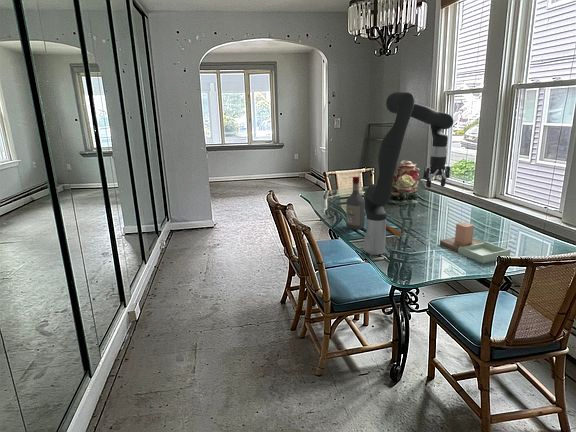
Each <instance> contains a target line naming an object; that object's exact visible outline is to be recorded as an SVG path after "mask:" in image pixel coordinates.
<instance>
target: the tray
mask: <svg viewBox="0 0 576 432" xmlns="http://www.w3.org/2000/svg"><path fill="white" fill-rule="evenodd" d="M457 254H459V255H462V256H464V257H467V258H469V259H471V260H473V261H476V262H477V263H480V264H482V265H484V264H488V263H493V262H497V261H496V258H497V256H510V257H511V249H507V248H505V247H502V246H499V245H497V244H494V243H491V242H489V241H487V240H486V241H485V240H484V242H483V243H480V244H475V245H470V246H465V247H461V246H459V248H458V253H457Z"/></svg>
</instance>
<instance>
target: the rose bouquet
mask: <svg viewBox="0 0 576 432" xmlns="http://www.w3.org/2000/svg"><path fill="white" fill-rule="evenodd" d="M417 164H418V163H415V164H414V162H412V161H410V160H406V159H404V160H402V161H400V164H399V165H398V166H397V167H396V170H397V172H398V173H396V172H395V173H394V177H393V183H392V190H391V196H390V199H389V201H388V203H393V204H395V205H396V206H403V205H404V206H405V205H410V204H416V203H420V198H419V196H418V193H419V192H416V191H418V185H419V183H420V178H421V177H422V176H419V173H418V172H419V171H421V169H420V168H418V167H417Z"/></svg>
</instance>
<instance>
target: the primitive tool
mask: <svg viewBox="0 0 576 432" xmlns="http://www.w3.org/2000/svg"><path fill="white" fill-rule="evenodd" d="M386 231H388V232H389V233H391V234H392V235H394V236H395V237H396V236H403V235H404V233H403V232H401V231H399V230H397V229H395V228H393V227H392V226H390V225H389V224H387V223H386Z"/></svg>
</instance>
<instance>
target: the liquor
mask: <svg viewBox="0 0 576 432" xmlns="http://www.w3.org/2000/svg"><path fill="white" fill-rule="evenodd" d="M345 206H346V207H345V209H346V213H345V214H346V216H345V218H346V220H345V222H346V223H345V224H346V228H347V229H349V230H354V231H359V230H358V229H360V230H362V229H364V228H365V224H366V222H365V220H366V219H365V216H366V215H365V214H366V211H365V197H363V196H362V195H361V194H360V177H359V176H352V192H351V194H350V196H348V197H347V199H346V205H345ZM361 228H362V229H361Z"/></svg>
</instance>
